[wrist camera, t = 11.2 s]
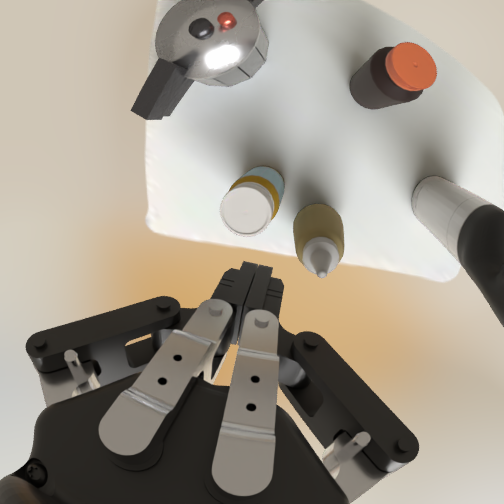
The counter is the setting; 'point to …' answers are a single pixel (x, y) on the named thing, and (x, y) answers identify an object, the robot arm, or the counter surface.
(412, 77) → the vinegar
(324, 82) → the counter surface
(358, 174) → the counter surface
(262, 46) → the pot
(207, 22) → the lid
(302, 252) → the squeeze bottle
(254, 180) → the bottle
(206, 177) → the counter surface
